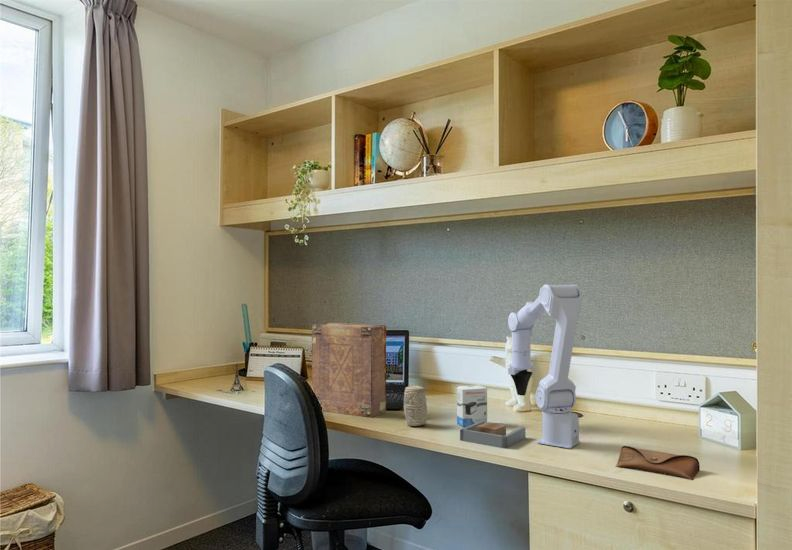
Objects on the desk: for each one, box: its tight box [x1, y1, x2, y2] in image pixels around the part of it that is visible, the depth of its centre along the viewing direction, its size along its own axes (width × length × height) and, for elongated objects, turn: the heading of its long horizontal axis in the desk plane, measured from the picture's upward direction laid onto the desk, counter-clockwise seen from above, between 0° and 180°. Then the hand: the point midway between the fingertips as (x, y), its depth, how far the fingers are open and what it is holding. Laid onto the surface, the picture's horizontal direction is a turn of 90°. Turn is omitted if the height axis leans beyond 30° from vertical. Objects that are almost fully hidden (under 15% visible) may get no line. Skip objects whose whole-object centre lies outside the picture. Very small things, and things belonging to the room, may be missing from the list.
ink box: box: [456, 384, 488, 428], centre depth 185 cm, size 8×5×12 cm, turn 105°
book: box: [311, 322, 387, 418], centre depth 205 cm, size 25×9×30 cm, turn 59°
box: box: [459, 421, 526, 449], centre depth 168 cm, size 14×13×3 cm
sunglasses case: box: [614, 445, 701, 481], centre depth 141 cm, size 18×7×7 cm
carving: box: [403, 385, 428, 427], centre depth 184 cm, size 6×8×12 cm
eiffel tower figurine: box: [217, 361, 254, 395], centre depth 244 cm, size 15×10×13 cm
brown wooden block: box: [477, 421, 507, 436], centre depth 168 cm, size 6×6×4 cm
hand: (521, 394), depth 184 cm, fingers closed
